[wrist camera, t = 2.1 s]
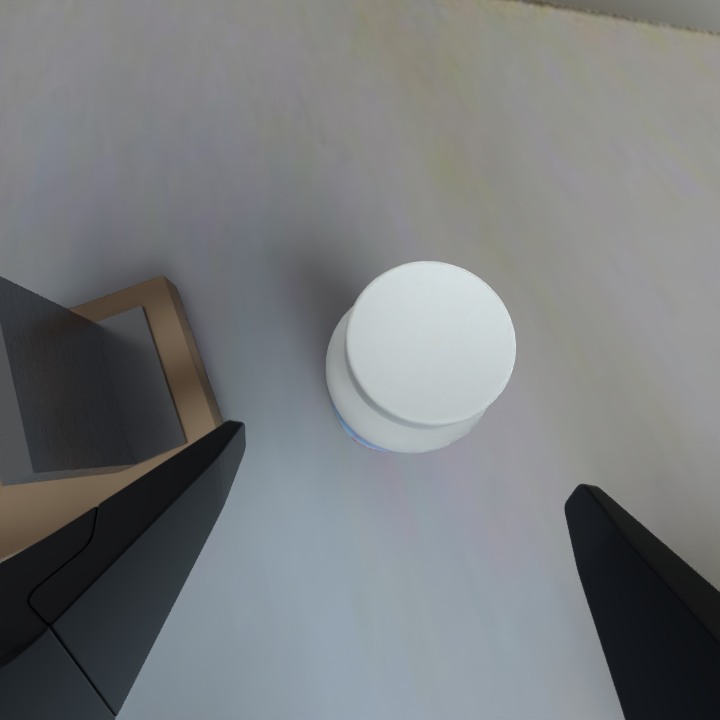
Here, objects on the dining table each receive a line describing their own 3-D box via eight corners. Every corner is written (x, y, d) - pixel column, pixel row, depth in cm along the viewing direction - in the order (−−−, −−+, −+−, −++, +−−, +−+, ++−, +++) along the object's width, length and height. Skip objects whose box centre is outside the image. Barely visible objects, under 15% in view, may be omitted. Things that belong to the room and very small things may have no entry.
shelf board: (235, 457, 19) (226, 458, 18) (-171, 636, 16) (-221, 655, 15) (175, 287, 21) (163, 275, 20) (-189, 421, 19) (-234, 419, 17)
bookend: (188, 442, 18) (109, 441, 12) (119, 472, 17) (1, 486, 11) (144, 307, 19) (56, 247, 13) (80, 331, 19) (-40, 280, 13)
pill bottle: (353, 467, 19) (360, 494, 8) (319, 364, 20) (287, 271, 9) (454, 430, 20) (585, 410, 9) (415, 333, 21) (487, 212, 10)
